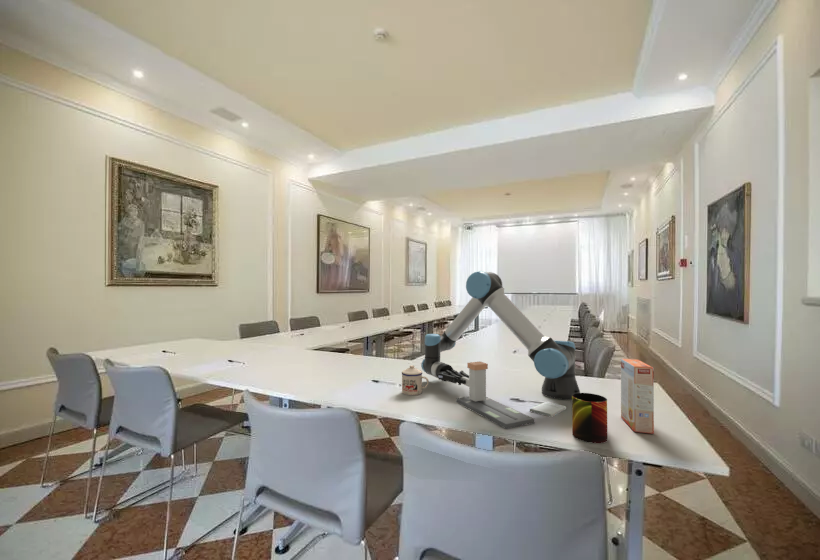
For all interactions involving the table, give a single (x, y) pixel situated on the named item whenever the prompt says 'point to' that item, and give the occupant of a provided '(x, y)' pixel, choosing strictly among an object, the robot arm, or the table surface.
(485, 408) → the fader console
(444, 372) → the robot arm
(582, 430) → the mug
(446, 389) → the table surface
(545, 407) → the external hard drive
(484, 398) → the fader lever
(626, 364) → the cracker box
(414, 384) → the teacup with lid
